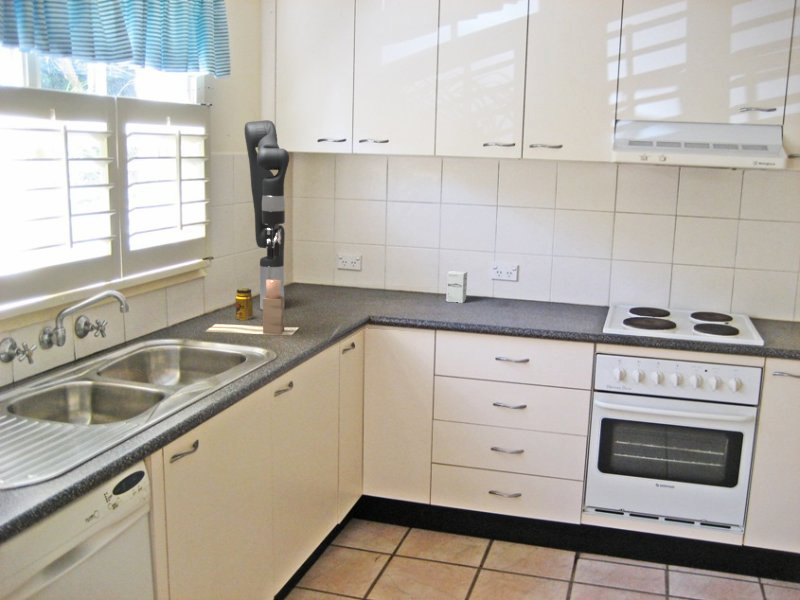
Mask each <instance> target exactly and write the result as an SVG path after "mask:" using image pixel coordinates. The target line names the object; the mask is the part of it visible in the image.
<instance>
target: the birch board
mask: <svg viewBox="0 0 800 600" xmlns="http://www.w3.org/2000/svg"><path fill="white" fill-rule="evenodd" d="M298 329H299V327H295V326H293V327H291V326H284V331H283V332H282V333H281V334H272V335H276V336H293V335H294V333H295V332H297V330H298ZM205 332H206V333H230V334H232V333H233V334H253V335H264V334H263V325H249V324H248V325H246V324H225V323H224V324H223V323H222V324H221V323H214V325H212V326H210V327H209V328H207V329H206V330H205Z"/></svg>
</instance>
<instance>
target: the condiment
mask: <svg viewBox="0 0 800 600" xmlns="http://www.w3.org/2000/svg"><path fill="white" fill-rule="evenodd" d="M252 295H253V294H252V289H251V288H238V289H236V297H235V320H237V321H244V322H245V321H252V320H253V319H254V317H253V316H254V315H253V313H254V311H253V296H252Z"/></svg>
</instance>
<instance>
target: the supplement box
mask: <svg viewBox="0 0 800 600" xmlns="http://www.w3.org/2000/svg"><path fill="white" fill-rule="evenodd" d="M446 275H447V277H446V299H445V301H447V302H446V303H456V302H458V303H457V304H463V303H464V302H466V301H465V300H467V287H468V285H467V284H468V271H459V270H449V271H448V272H447V274H446Z"/></svg>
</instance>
